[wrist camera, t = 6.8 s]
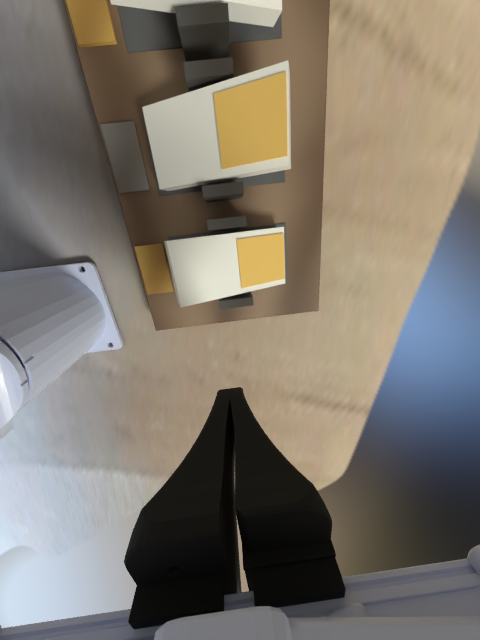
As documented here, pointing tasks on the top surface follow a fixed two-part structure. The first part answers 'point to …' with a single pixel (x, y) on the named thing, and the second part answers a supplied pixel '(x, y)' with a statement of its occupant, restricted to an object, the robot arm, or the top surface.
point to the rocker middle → (222, 130)
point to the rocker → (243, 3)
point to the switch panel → (221, 197)
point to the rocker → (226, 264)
